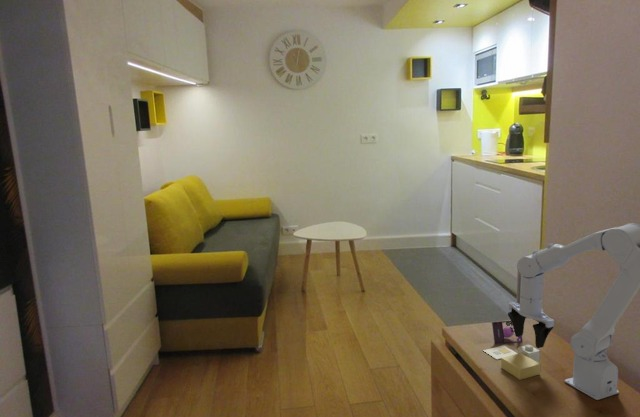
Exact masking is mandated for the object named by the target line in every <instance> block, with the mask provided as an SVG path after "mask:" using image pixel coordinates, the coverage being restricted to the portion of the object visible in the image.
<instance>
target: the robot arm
mask: <svg viewBox="0 0 640 417" xmlns="http://www.w3.org/2000/svg"><path fill="white" fill-rule="evenodd" d="M594 249H596V250H599V251H602V252H604V251H606V253H608V254H609V255H610V256H611V257H612V259H614V261H615V262H616V263H617V264H618V265H619V266H618V267H620V269H621V270H620V272H619V274H618V275H617V277H616V278H615V280H614V281H613V283H612V285H611V286H610V288H609V289H608V291H607V293H606V295H605V296H604V298H603V299H602V301H601V303H600V304H599V305H598V307H597V309H596V310H595V311H594V314H593V315H592V317H591V319H590V320H589V321H588V322H587V323H586V324H585V325H584V326H583V327H582V328H581V329H580V331H578V333H575V334H573V335H572V336H571V338H570V340H569V345H570V348H571V350H572V351H573V353H574V354H573V355H574V356H573V371H572V373H573V374H572V377H570V378H566V379H564V383H566V384H568V385H570V386H571V387H573V388H575V389H577V390H578V391H580V392H581V393H584V394H585V395H587V396H588V397H590V398H592V399H594V400H597V401H598V400H602V399H604V398H607V397H611V396H614V395H617V394H619V393H620V391H619V389H618V380H619V369H618V368H619V367H617V365H616V364H615V363H613V362H612V361H610V359H609V357H608V352H607V350H608V349H607V348H610V347H611V345H612V344H613V336H614V333H615V331H616V329H615V326H616V325H617V324H618V322H619V321H620V319H621V318H622V317H623V314H624V313H625V311H626V310H627V308H628V307H629V306H630V304H631V303H632V301H633V300H634V298H635V297H636V295H637V293H638V292H639V290H640V224H639V223H633V222H628V223H626V224H624V225H621V226H614V227H612V228H607V229H602V230H599V231H597V232H593V233H590V234H589V235H587V236H586V235H585V237H582V238H579V239H577V240H576V241H573V242H570V243H569V244H566V245H563V244H560V243H556V244H554V243H550V244H547V245H546V248H543V249H542V250H539V251H538V250H535V251H532V253H531V254H529V255H526V256H522V257H521V258H520V259H518V261H517V264H516V268H517V271H518V273H519V274H520V290H519V303H518V302H515V301H512V302H508V310H509V312H507V316H508V318H509V321H511V322H512V324H513V326H512V328H514V329H513V331H514V335H515V337H516V338H518V337H519V336H522V337H523V335H524V329H525V328H524V327H525V321H526V318H528V319H531V320H534V321H535V322H538V323H534V324H532V328H533V331H534V337H535V348H536V349H540V348H544V346H545V344H546V341H547V337H548V336H549V335H550V333H551V331H552V330H553V329H554V328H555V327H554V326H555V320H554V319H553V318H551V317H549V316H548V315H547V314H546V313H545V312H544V309H543V291H544V290H543V288H544V285H543V284H544V277H545V276H544V274H546V272H549V271H552V270H555V269H557V268H560V267H562V266H565V265H567V264H569V263H570V259H571V257H574V256H576V255H579V254H582V253H585V252H589V251H591V250H594Z"/></svg>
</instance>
